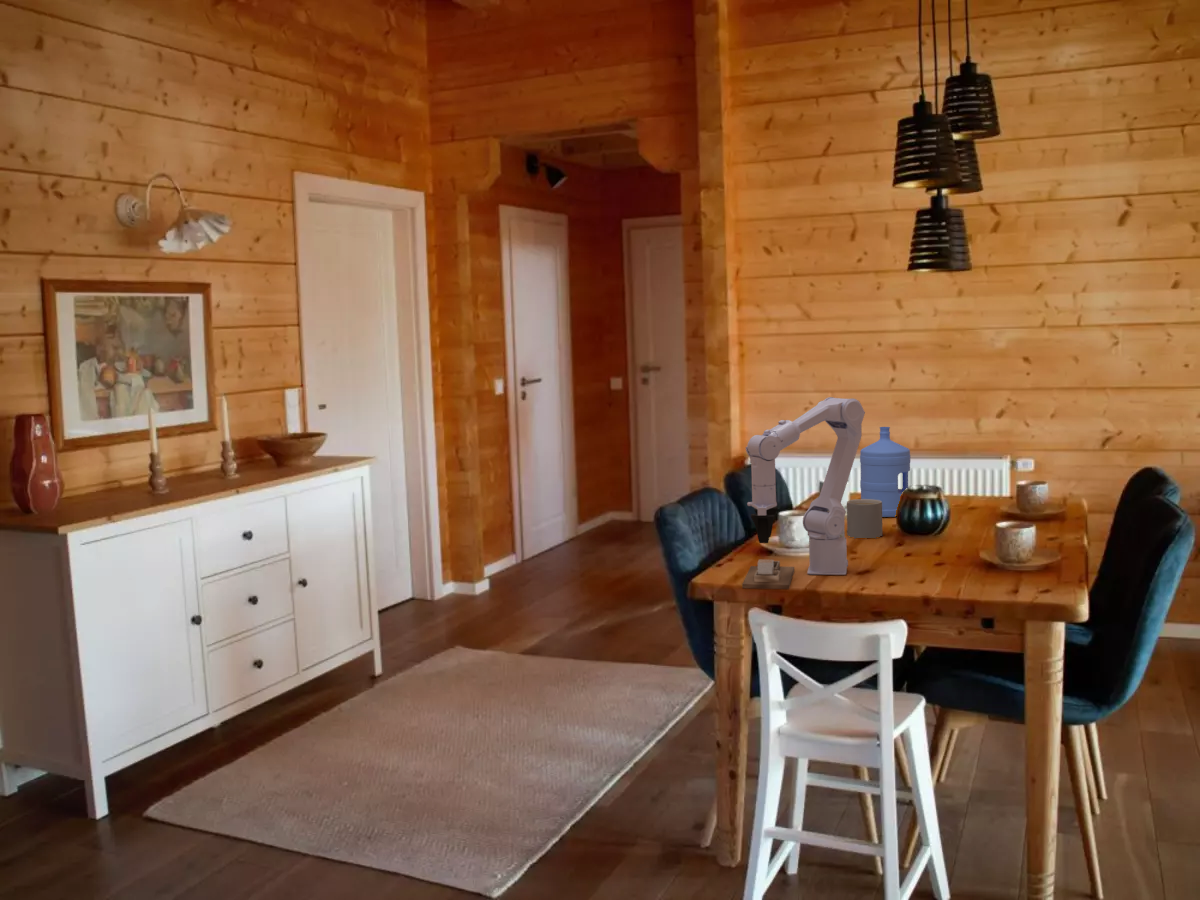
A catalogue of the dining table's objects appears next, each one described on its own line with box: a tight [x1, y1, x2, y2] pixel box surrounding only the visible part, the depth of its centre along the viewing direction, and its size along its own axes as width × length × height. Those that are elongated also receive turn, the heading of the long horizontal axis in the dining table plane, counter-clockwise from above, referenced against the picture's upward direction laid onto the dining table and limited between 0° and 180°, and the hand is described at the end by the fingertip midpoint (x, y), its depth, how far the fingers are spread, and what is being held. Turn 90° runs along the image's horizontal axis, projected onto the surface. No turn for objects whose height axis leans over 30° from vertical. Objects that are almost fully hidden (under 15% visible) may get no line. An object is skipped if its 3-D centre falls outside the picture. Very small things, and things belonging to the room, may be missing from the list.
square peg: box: [757, 558, 774, 576], centre depth 277 cm, size 4×4×4 cm
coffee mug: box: [846, 498, 883, 539], centre depth 332 cm, size 13×10×10 cm
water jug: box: [859, 426, 911, 517], centre depth 364 cm, size 16×16×28 cm
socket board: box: [741, 560, 795, 590], centre depth 281 cm, size 11×20×2 cm, turn 167°
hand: (765, 539), depth 278 cm, fingers open, 7 cm apart
